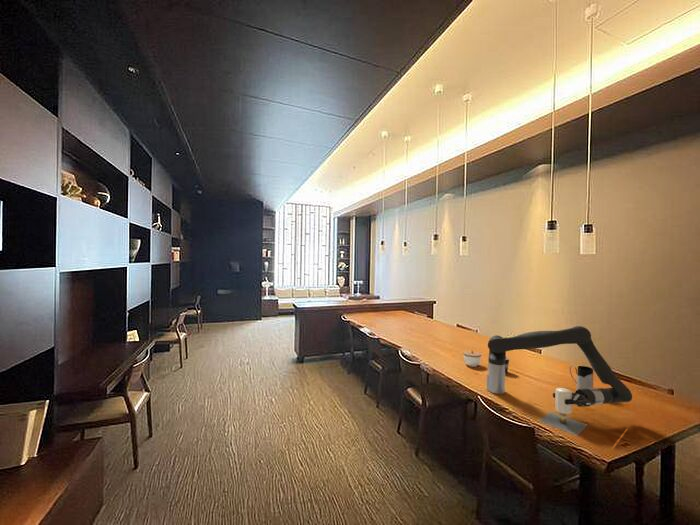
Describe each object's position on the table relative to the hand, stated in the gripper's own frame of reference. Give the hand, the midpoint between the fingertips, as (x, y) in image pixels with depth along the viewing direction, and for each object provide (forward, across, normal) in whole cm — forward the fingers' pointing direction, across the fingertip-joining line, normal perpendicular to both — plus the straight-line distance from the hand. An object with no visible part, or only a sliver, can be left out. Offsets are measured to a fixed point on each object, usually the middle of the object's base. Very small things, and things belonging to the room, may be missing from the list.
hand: (559, 398), depth 152 cm
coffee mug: (-16, -70, +13) cm, 73 cm away
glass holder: (-45, -34, +13) cm, 58 cm away
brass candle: (-2, 0, +12) cm, 12 cm away
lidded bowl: (-3, -86, +12) cm, 87 cm away
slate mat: (-2, 0, +12) cm, 13 cm away
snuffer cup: (-2, 0, +6) cm, 6 cm away
